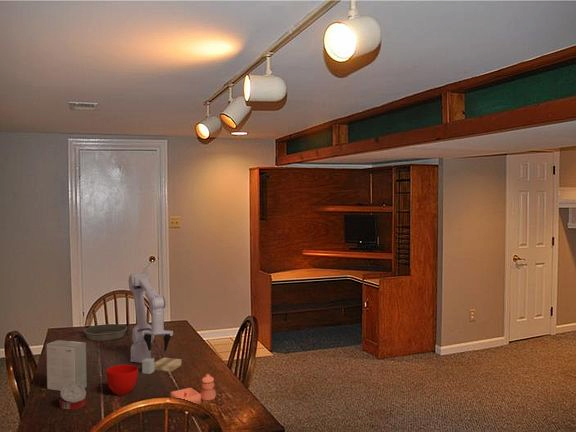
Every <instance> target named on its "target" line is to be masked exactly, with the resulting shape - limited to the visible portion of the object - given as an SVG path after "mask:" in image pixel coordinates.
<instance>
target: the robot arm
mask: <svg viewBox="0 0 576 432" xmlns="http://www.w3.org/2000/svg"><path fill="white" fill-rule="evenodd" d="M151 281H152V279H151V275H150V274H149V272H146V273H135V274H129V275H128V287H129V291H130V292H132V295H133V301H134V309H135V318H136V325H135V326H134V327H133V328H132V333H131V338H132V342H133V343H132V344H131V346H130V360H129V361H130V362H131V363H133V362H134V363H141V364H142V360H144V359H146V358H150V359H154V360H155V357H152V354H151V353H152V343H153V341H154V339H155V336H163V344H164V347H163V348H164V352H166V351H168V345H169V342H170V340H171V337H172V336H173V335H174V331H173V330H167V329H165V327H164V325H165V322H164V321H165V320H164V318H165V317H164V316H165V315H164V312H165V311H164V309H165V308H166V303H167V302H166V298H165V296H163V295H160V293H159V292H158V291H157V289H156V288H155V287H153V286H152V284H151ZM144 295H145V297H146V299H147V301H148V306H149V313H150V320H151V322H150V324H149V323H148V322H147V313H146V305H145V298H144Z"/></svg>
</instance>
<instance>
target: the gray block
mask: <svg viewBox="0 0 576 432" xmlns="http://www.w3.org/2000/svg"><path fill="white" fill-rule="evenodd" d="M154 362H155V358H154V359H150V358H146V359H144V360H142V363H141V364H142V365H141V366H142V369H141V372H142V373H141V374H149V375H150V374H152V373H154V372H155V370H154Z"/></svg>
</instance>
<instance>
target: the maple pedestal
mask: <svg viewBox="0 0 576 432" xmlns="http://www.w3.org/2000/svg"><path fill="white" fill-rule="evenodd" d="M180 367H182V359H181V358H171V357H161V358H160V359H158V360H156V361H154V371H164V372H173V371H175V370H176V369H178V368H180Z"/></svg>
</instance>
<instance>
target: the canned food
mask: <svg viewBox="0 0 576 432" xmlns="http://www.w3.org/2000/svg"><path fill="white" fill-rule="evenodd" d="M86 396H87V391H86V388H84V387H83V386H82V385H81V384H80V383H78V382H73V381H72V382H69V383H67V384H66V385H64V386H63V388H62V389H61V391H60V398H59V406H60V407H59V409H61V408H62V409H61V410H64V409H69V410H70V411H72V410H76V409H81V408H83V407H84V406H85V405H86V402H87V401H86ZM71 409H72V410H71ZM69 410H68V411H69Z"/></svg>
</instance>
